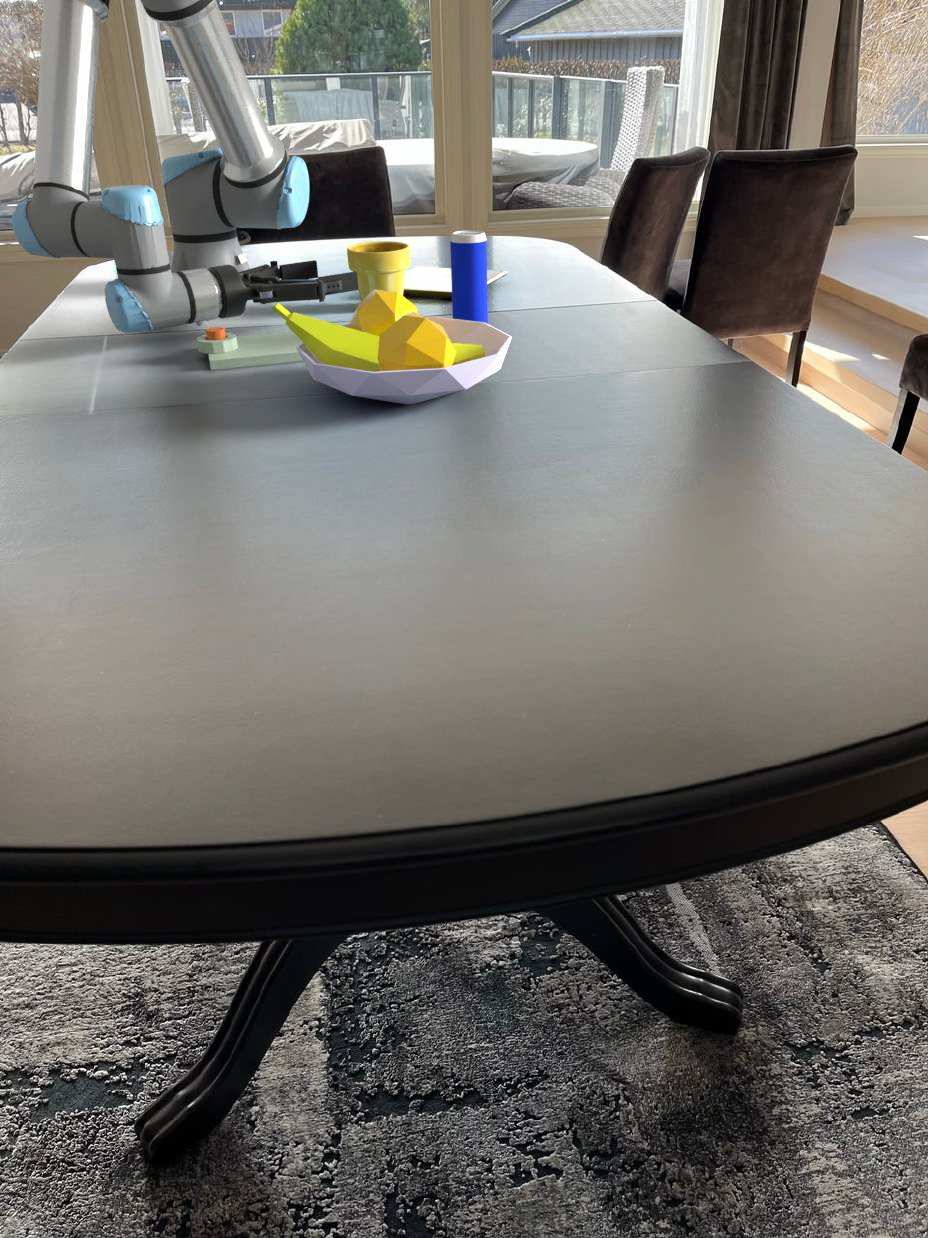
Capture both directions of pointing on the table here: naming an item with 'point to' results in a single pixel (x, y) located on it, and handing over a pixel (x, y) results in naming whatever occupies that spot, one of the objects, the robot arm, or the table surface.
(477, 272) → the beverage can
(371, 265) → the flower pot
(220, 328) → the button
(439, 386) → the fruit bowl
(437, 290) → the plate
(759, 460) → the table surface
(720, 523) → the table surface
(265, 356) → the pale green flat block
